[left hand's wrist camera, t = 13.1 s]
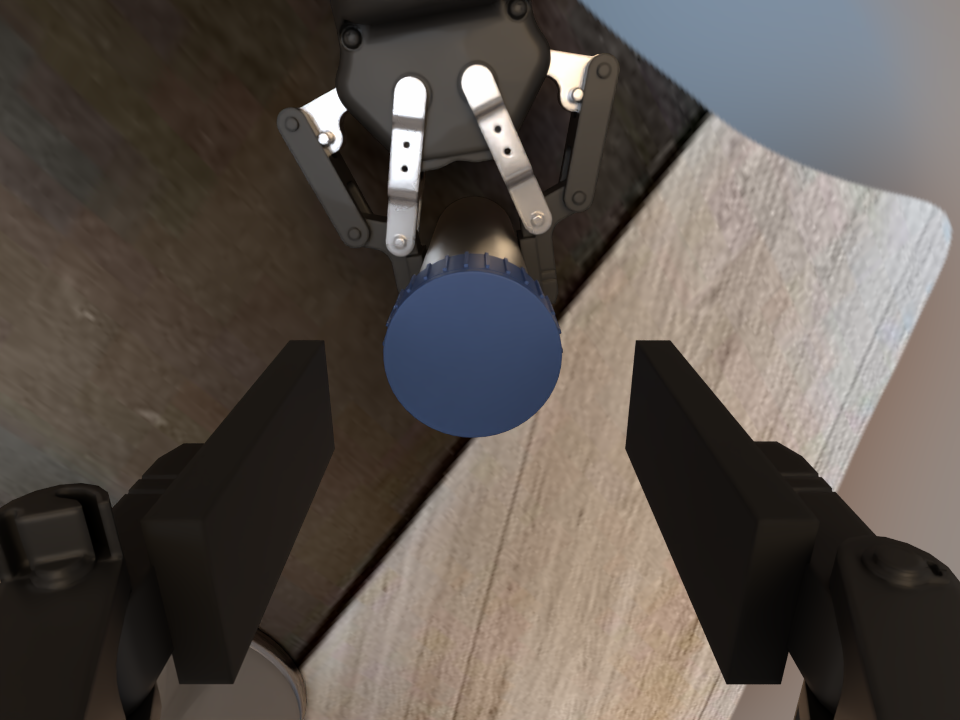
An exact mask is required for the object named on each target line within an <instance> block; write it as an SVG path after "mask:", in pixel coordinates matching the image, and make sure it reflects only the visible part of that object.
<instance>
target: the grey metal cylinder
mask: <svg viewBox="0 0 960 720" xmlns="http://www.w3.org/2000/svg"><path fill="white" fill-rule="evenodd" d="M467 251H468V252H469V254H470V253H473V254H485V252H487V253H489V255H491V256H495V257H498V258H502V259H504V257H505V258H508V262H511V263H513V264H514V265H516V266H517V267H519V268H521V267H523V268H525V271H526V273H527V274H528V272H527V269H526V266H525V263H524V260H523V257H522V254H521V251H520V248H519V245H518V241H517V238H516V235H515V232H514V229H513V226H512V223H511V220H510V218H509V216H508V215H507V213H506V212H505V211H504V210H503V208H502V207H500V206H499V205H498V204H497V203H495V202H494V201H492V200H489V199H487V198H484V197H476V196H472V197H465V198H462V199H459V200H457V201H455V202H453V203H452V204H451V205H449V206H448V207H447V208H446V209H445V210H444V211H443V213H442V214H441V216H440V218H439V220H438V222H437V225H436V228H435V230H434V233H433V236H432V239H431V242H430V244H429V247H428V250H427V253H426V256H425V258H424V261H423V264H422V267H421V270H420V272H421V271H422V270H424V269H425V268H426V267H427V264H429V263H431V264H433V263H435V262H437V261H439V260H442V259H445V256H446V255H449V257H451V256H455V255H459V254H465V252H467ZM420 272H419V273H420Z"/></svg>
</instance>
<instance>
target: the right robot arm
mask: <svg viewBox="0 0 960 720" xmlns="http://www.w3.org/2000/svg"><path fill="white" fill-rule="evenodd" d="M330 1H331V6H332V11H333V15H334V20H335V25H336V29H337V34H338V38H339V44H340V62H339V67H338V71H337V74H336V81H335V85H336V88H335V89H333V90H331V91H329V92H328V93H326V94H324V95H322V96H321V97H319V98H317V99H315V100H314V101H312V102H310V103H308V104H306V105H305V106H303V107H301V108H286V109H284V110H282V111H281V112H280V113H279V115H278V117H277V127H278V130H279V132H280V134H281V135H282V137H283V139H284V141H285V142H286V144H287V146H288V147H289V149H290V151H291V153H292V154H293V156H294V158H295V160H296V161H297V163H298V165H299V167H300V168H301V170H302V172H303V173H304V175H305V177H306V179H307V180H308V182H309V184H310V186H311V187H312V189H313V191H314V192H315V194H316V196H317V198H318V199H319V201H320V203H321V205H322V206H323V208H324V210H325V211H326V213H327V215H328V217H329V218H330V220H331V222H332V224H333V225H334V227H335V229H336V230H337V232H338V234H339V236H340V237H341V239H342V241H343V242H344V243H345V244H346V245H347V246H349V247H351V248H360V247H366V248H371V249H376V250H380V251H382V252H384V253H385V254H386V255H387V256H388V257H389V258H390V260H391V262H392V266H393V271H394V275H395V280H396V285H397V289H398V293H399V294H400V292H401V290H402V289H403V290H405V289H406V287H407V286H408V285H409V283H410V280H411V278H412V276H413V275H414V274H415V275H416V276H417V275H418V274H419V272H420V270H421V267H422V264H423V261H424V258H425V256H426V253H427V249H426V245H424V246H421V245H420V240H419V231H420V220H421V209H422V199H423V192H424V185H425V174H426V171H429V170H435V169H439V168H441V167H443V166H445V165H448V164H450V163H452V162H454V161H457V160H460V161H469V162H482V161H488V160H495V162H496V165H497V167H498V169H499V171H500V173H501V176H502V178H503V180H504V182H505V184H506V187H507V189H508V191H509V193H510V196H511V198H512V200H513V202H514V204H515V207H516V209H517V211H518V213H519V220H520V227H521V230H518V231H517V238H518V245H519V248H520V251H521V254H522V257H523V260H524V263H525V266H526V269H527V272H528V275H529V276H530V277H531V278H532V279H533V280H534V281H535V280H537V281H538V282H539V284H540V287H541V290H542V292H543V294H544V296H547V295H548V297H549V300H550V302H551V304H554V303H555V302H556V299H557V295H558V284H557V276H556V267H555V259H554V251H553V242H552V233H553V230H554V228H555V226H556V225H557V224H558V223H559V222H560V221H561V220H563V219H565V218H566V217H568V216H570V215H572V214H574V213H576V212H577V213H579V212H584V211H586V210H587V209H588V208H589V207H590V206H591V205H592V203H593V199H594V194H595V189H596V185H597V180H598V175H599V170H600V165H601V160H602V155H603V150H604V145H605V141H606V136H607V131H608V126H609V121H610V116H611V111H612V106H613V101H614V96H615V92H616V87H617V82H618V77H619V71H620V67H619V63H618V61H617V59H616V58H615V57H614V56H613V55H611V54H608V53H602V54H597V55H595V56H585V55H579V54H573V53H567V52H561V51H554V50H550V47H549V44H548V42H547V40H546V38H545V36H544V35H543V34H542V32H541V31H540V29H539V27H538V25H537V23H536V21H535V18H534V15H533V11H532V5H531V0H330ZM545 77H548V78H550V79H551V80H552V81H553V82H554V83H555V84H556V87H557V92H558V93H557V98H558V103H559V105H560V106H561V107H562V108H563V109H564V110H566V111H569V112H571V117H570V122H569V128H568V133H567V139H566V144H565V150H564V155H563V161H562V166H561V172H560V177H559V183H558V184H556V185H554V186H553V187H551V188H549V189H547V190H546V191H544V192H542V191H541V189H540V187H539V185H538V182H537V180H536V178H535V175H534V172H533V169H532V167H531V165H530V162H529V160H528V158H527V155H526V153H525V151H524V148H523V146H522V144H521V141H520V139H519V137H518V132H519V130H520V128H521V126H522V124H523V122H524V120H525V118H526V116H527V114H528V112H529V109H530V107H531V105H532V103H533V101H534V99H535V97H536V95H537V93H538V91H539V89H540V87H541V85H542V83H543V81H544V79H545ZM348 112H350V113H351V114H352V115H353V116H354V117H355V118H356V119H357V120H358V121H359V122H360V123H361V124H362V125H363V126H364V127H365V128H366V129H367V130H368V131H369V132H370V133H371V134H372V135H373V136H374V137H375V138H376V139H377V140H378V141H379V142H380V143H381V144H382V145H383V146H384V147H385V148H386V149H387V150H388V151H389V152H390V167H389V181H388V215H387V217H384V216H379V215H374V214H373V212H372V211H371V209H370V207H369V205H368V203H367V201H366V200H365V198H364V196H363V194H362V192H361V191H360V189H359V187H358V185H357V183H356V182H355V180H354V178H353V176H352V174H351V172H350V171H349V169H348V167H347V165H346V163H345V162H344V160H343V158H342V156H341V154H340V153H339V151H340V150H342V149H343V148H344V146H345V144H346V141H347V136H346V132H345V130H344V124H343V123H344V118H345V116H346V115H347V113H348Z"/></svg>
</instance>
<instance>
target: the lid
mask: <svg viewBox="0 0 960 720" xmlns="http://www.w3.org/2000/svg"><path fill="white" fill-rule="evenodd" d="M386 326H387V327H388V329H387V333H386V336H385V338H384V341H383V346H384V349H383V354H384V366H385V372H386V375H387V379H388V382H389V384H390V386H391V388H392V391H393V392H394V394H395V396H396V397H397V399H398V400H399V402H400V403H401V404H402V405H403V406H404V408H405V409H406V410H407V411H408V412H409V413H410V414H412V415H413V416H414V417H415V418H416V419H418V420H419V421H421V422H422V423H423V424H425V425H427V426H429V427H431V428H433V429H435V430H437V431H440V432H442V433H446V434H450V435H453V436H460V437H486V436H491V435H496V434H500V433H503V432H506V431H508V430H511V429H513V428H515V427H517V426H519V425H520V424H522V423H524V422H525V421H527V420H528V419H529V418H530V417H532V416H533V415H534V414H535V413H536V412H537V411H538V410H539V409H540V408H541V407H542V406H543V405H544V403H545V402H546V401H547V399H548V398H549V397H550V395H551V393H552V391H553V389H554V388H555V385H556V382H557V380H558V377H559V373H560V369H561V361H562V353H563V349H562V346H561V340H560V335H559V334H561V330H560V327H559V324H558V322H557V319H556V317H555V312H554V310H553V307H552V305H551V302H550V300H549V297H548V295H547V296H544V294H543V292H542V290H541V287H540V284H539V282H538V281H537V280H535V281H534V280H533V279H532V278H531V277H530V276H529V275H528V274H527V273H526V271H525V268H523V267H521V268H519V267H517V266H516V265H514V264H513V263H511V262H508V258H505V257H504V259H502V258H498V257H495V256H491V255H489V253H487V252H485V254H473V253H470V254H469V252H468V251H467V252H465V254H459V255H455V256H451V257H449V255H446V256H445V259H442V260H439V261H437V262H435V263H433V264H431V263H429V264H427V267H426V268H425V269H424V270H422V271H421V272H420V273H419V274H418V275H417V276H416V275H415V274H414V275H413V276H412V278H411V280H410V283H409V285H408V286H407V287H406V289H405V290H403V289H402V290H401V292H400V294H399V296H398V299H397V301H396V303H395V306H394V307H393V309H392V312H391V314H390V316H389V319H388V321H387V324H386Z"/></svg>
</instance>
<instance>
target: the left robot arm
mask: <svg viewBox="0 0 960 720" xmlns="http://www.w3.org/2000/svg"><path fill="white" fill-rule="evenodd" d="M334 449H335V447H334V436H333V426H332V416H331V406H330V395H329V385H328V375H327V365H326V355H325V344H324V340H290V341H289V342H288V343H287V344H286V346H285V347H284V348H283V349H282V351H281V352H280V353H279V354H278V355H277V357H276V358H275V359H274V360H273V361H272V363H271V364H270V365H269V366H268V367H267V369H266V370H265V371H264V372H263V373H262V375H261V376H260V377H259V378H258V380H257V381H256V382H255V383H254V384H253V386H252V387H251V388H250V389H249V390H248V392H247V393H246V394H245V395H244V396H243V398H242V399H241V400H240V401H239V402H238V404H237V405H236V406H235V407H234V409H233V410H232V411H231V412H230V413H229V415H228V416H227V417H226V418H225V419H224V421H223V422H222V423H221V424H220V425H219V427H218V428H217V429H216V430H215V431H214V433H213V434H212V435H211V436H210V438H209V439H208V440H207V441H206V442H205V444H182V445H180V446H179V447H177V448H175V449H174V450H172V451H170V452H168V453H167V454H165V455H163V456H162V457H160V458H158V459H157V460H156V461H155V463H154V464H153V465H152V466H151V467H150V468H149V469H148V470H147V471H146V472H145V473H144V474H143V476H142V479H139V480H138V481H137V482H136V483H135V484H134V485H133V486H132V487H131V488H130V490H129V493H128V494H125V495H124V496H123V497H122V498H121V499H120V500H119V501H118V503H117V504H116V505H115V506H114V507H113V508H112V507H111V503H110V499H109V495H108V492H106V491H105V490H104V489H102V488H101V487H99V486H96V485H90V484H84V483H77V484H65V485H57V486H53V487H49V488H45V489H41V490H37V491H34V492H32V493H29V494H27V495H24V496H22V497H19V498H17V499H15V500H12V501H11V502H9V503H7V504H6V505H4V506H3V507H1V508H0V581H1V583H0V720H303V718H304V714H305V710H306V690H305V685H304V682H303V679H302V676H301V674H300V672H299V670H298V668H297V666H296V665H295V663H294V662H293V660H292V659H291V658H290V656H289V655H288V654H287V653H286V652H285V651H284V649H282V648H281V647H280V646H279V645H278V644H277V643H276V642H275V641H273V640H272V639H271V638H270V637H268V636H267V635H265V634H264V633H262V632H261V631H259V630H257V628H258V626H259V624H260V621H261V619H262V617H263V614H264V612H265V610H266V607H267V605H268V603H269V600H270V598H271V596H272V593H273V591H274V589H275V586H276V584H277V582H278V579H279V577H280V575H281V572H282V570H283V568H284V566H285V563H286V561H287V559H288V556H289V554H290V552H291V549H292V547H293V545H294V542H295V540H296V538H297V535H298V533H299V531H300V528H301V526H302V524H303V521H304V519H305V517H306V514H307V512H308V510H309V507H310V505H311V503H312V500H313V498H314V496H315V493H316V491H317V489H318V486H319V484H320V482H321V479H322V477H323V475H324V472H325V470H326V468H327V465H328V463H329V461H330V458H331V456H332V454H333V452H334ZM625 449H626V452H627V454H628V456H629V458H630V461H631V463H632V465H633V468H634V470H635V472H636V475H637V477H638V479H639V482H640V484H641V486H642V489H643V491H644V493H645V496H646V498H647V500H648V503H649V505H650V507H651V510H652V512H653V514H654V517H655V519H656V521H657V524H658V526H659V528H660V531H661V533H662V535H663V538H664V540H665V542H666V545H667V547H668V549H669V552H670V554H671V556H672V559H673V561H674V563H675V566H676V568H677V570H678V572H679V575H680V577H681V579H682V582H683V584H684V586H685V589H686V591H687V593H688V596H689V598H690V600H691V603H692V605H693V607H694V610H695V612H696V614H697V617H698V619H699V621H700V624H701V626H702V628H703V631H704V633H705V635H706V638H707V640H708V642H709V645H710V647H711V649H712V652H713V654H714V656H715V659H716V661H717V663H718V666H719V668H720V670H721V673H722V675H723V677H724V680H725V682H726V684H781V681H782V677H783V673H784V669H785V665H786V661H787V656H788V652H789V653H790V655H791V656H792V658H793V660H794V662H795V663H796V665H797V667H798V669H799V670H800V672H801V674H802V676H803V677H804V681H803V685H802V689H801V693H800V697H799V700H798V704H797V708H796V712H795V716H794V720H960V581H959V580H958V579H957V578H956V576H955V575H954V574H953V573H952V571H951V570H950V569H949V568H948V567H947V566H946V565H945V564H943V563H942V562H941V561H939V560H938V559H936V558H935V557H934V556H932V555H931V554H929V553H927V552H925V551H923V550H921V549H918V548H916V547H914V546H912V545H910V544H908V543H905V542H901V541H897V540H894V539H890V538H887V537H879V536H876V535H875V534H874V533H873V532H872V531H871V530H870V529H869V528H868V526H867V525H866V524H865V523H864V522H863V521H862V520H861V519H860V518H859V517H858V516H857V515H856V514H855V512H854V511H853V510H852V509H851V508H850V507H849V506H848V505H847V504H846V503H845V502H844V501H843V500H842V499H841V497H840V496H839V495H838V494H837V493H836V492H832V488H831V487H830V486H829V485H828V484H827V482H826V481H825V480H824V479H823V478H822V477H819V476H818V473H817V472H816V471H815V470H814V468H813V467H812V466H811V465H810V464H809V463H808V462H807V461H806V460H805V459H804V458H803V457H802V456H801V455H799V454H797V453H796V452H794V451H792V450H790V449H789V448H787V447H785V446H784V445H782V444H780V443H778V442H754V441H753V440H752V439H751V438H750V436H749V435H748V434H747V433H746V431H745V430H744V429H743V428H742V427H741V425H740V424H739V423H738V422H737V421H736V419H735V418H734V417H733V416H732V415H731V413H730V412H729V411H728V410H727V409H726V407H725V406H724V405H723V404H722V402H721V401H720V400H719V399H718V398H717V396H716V395H715V394H714V393H713V392H712V390H711V389H710V388H709V387H708V386H707V384H706V383H705V382H704V381H703V380H702V378H701V377H700V376H699V375H698V373H697V372H696V371H695V370H694V369H693V367H692V366H691V365H690V364H689V363H688V361H687V360H686V359H685V358H684V357H683V355H682V354H681V353H680V352H679V351H678V349H677V348H676V347H675V346H674V344H673V343H672V342H671V341H670V340H636V344H635V355H634V365H633V375H632V385H631V395H630V406H629V416H628V426H627V436H626V447H625Z"/></svg>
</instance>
